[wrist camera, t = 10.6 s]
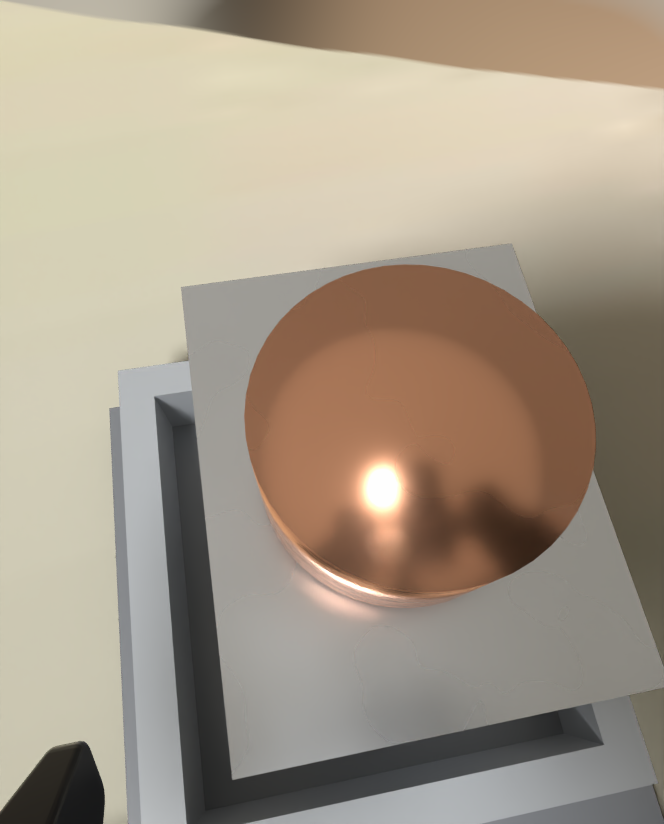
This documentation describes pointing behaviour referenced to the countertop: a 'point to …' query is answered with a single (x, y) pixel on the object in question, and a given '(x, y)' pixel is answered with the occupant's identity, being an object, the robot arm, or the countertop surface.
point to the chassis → (329, 779)
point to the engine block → (401, 509)
